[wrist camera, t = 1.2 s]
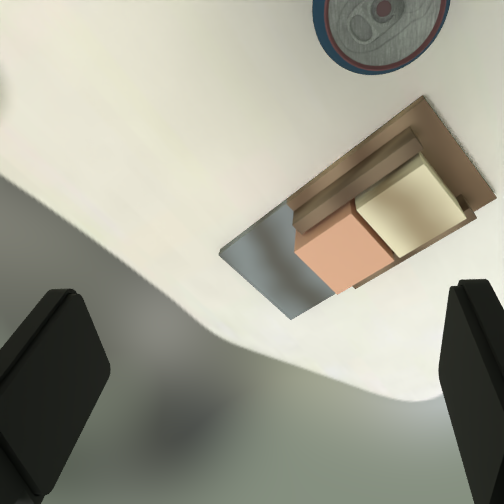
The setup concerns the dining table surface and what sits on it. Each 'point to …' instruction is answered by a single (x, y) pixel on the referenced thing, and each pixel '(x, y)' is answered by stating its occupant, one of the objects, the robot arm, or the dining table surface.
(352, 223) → the terracotta block
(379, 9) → the soda can
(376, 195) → the beech block
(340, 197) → the chute
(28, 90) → the dining table surface
